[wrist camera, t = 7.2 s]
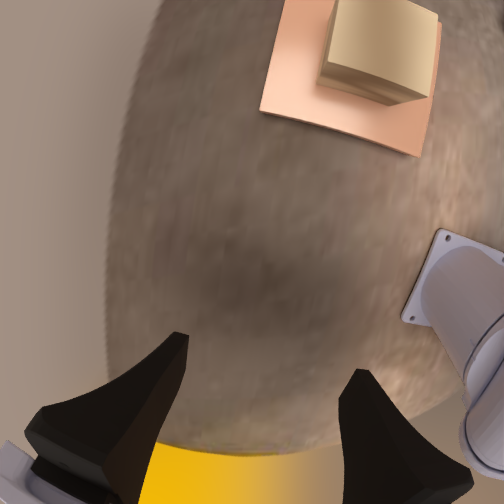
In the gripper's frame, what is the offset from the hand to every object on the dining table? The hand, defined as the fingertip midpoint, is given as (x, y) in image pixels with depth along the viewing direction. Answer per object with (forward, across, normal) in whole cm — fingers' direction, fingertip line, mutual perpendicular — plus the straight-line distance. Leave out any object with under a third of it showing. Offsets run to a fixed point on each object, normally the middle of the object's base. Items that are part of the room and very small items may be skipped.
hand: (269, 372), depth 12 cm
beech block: (+8, -2, -15) cm, 17 cm away
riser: (+10, -2, -15) cm, 18 cm away
